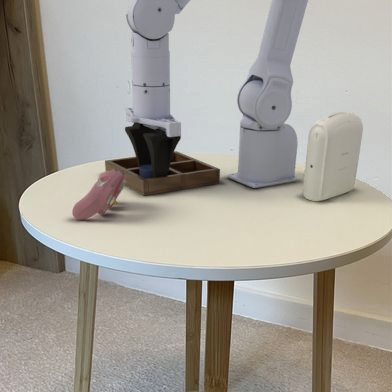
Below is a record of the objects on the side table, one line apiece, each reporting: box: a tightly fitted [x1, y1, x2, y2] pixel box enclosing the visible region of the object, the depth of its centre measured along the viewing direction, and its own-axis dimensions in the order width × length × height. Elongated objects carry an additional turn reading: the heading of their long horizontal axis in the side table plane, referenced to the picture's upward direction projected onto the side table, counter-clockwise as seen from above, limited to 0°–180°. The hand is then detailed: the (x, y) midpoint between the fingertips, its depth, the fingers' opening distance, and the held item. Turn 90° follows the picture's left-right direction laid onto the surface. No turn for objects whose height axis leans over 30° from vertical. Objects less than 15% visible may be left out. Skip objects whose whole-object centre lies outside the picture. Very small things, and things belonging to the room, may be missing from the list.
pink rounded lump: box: [71, 169, 127, 221], centre depth 86 cm, size 10×5×7 cm, turn 168°
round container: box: [139, 164, 154, 179], centre depth 98 cm, size 4×4×3 cm
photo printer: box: [302, 111, 364, 202], centre depth 93 cm, size 10×4×12 cm, turn 133°
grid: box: [104, 150, 221, 197], centre depth 102 cm, size 14×14×2 cm
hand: (153, 174), depth 98 cm, fingers closed on round container, 4 cm apart
